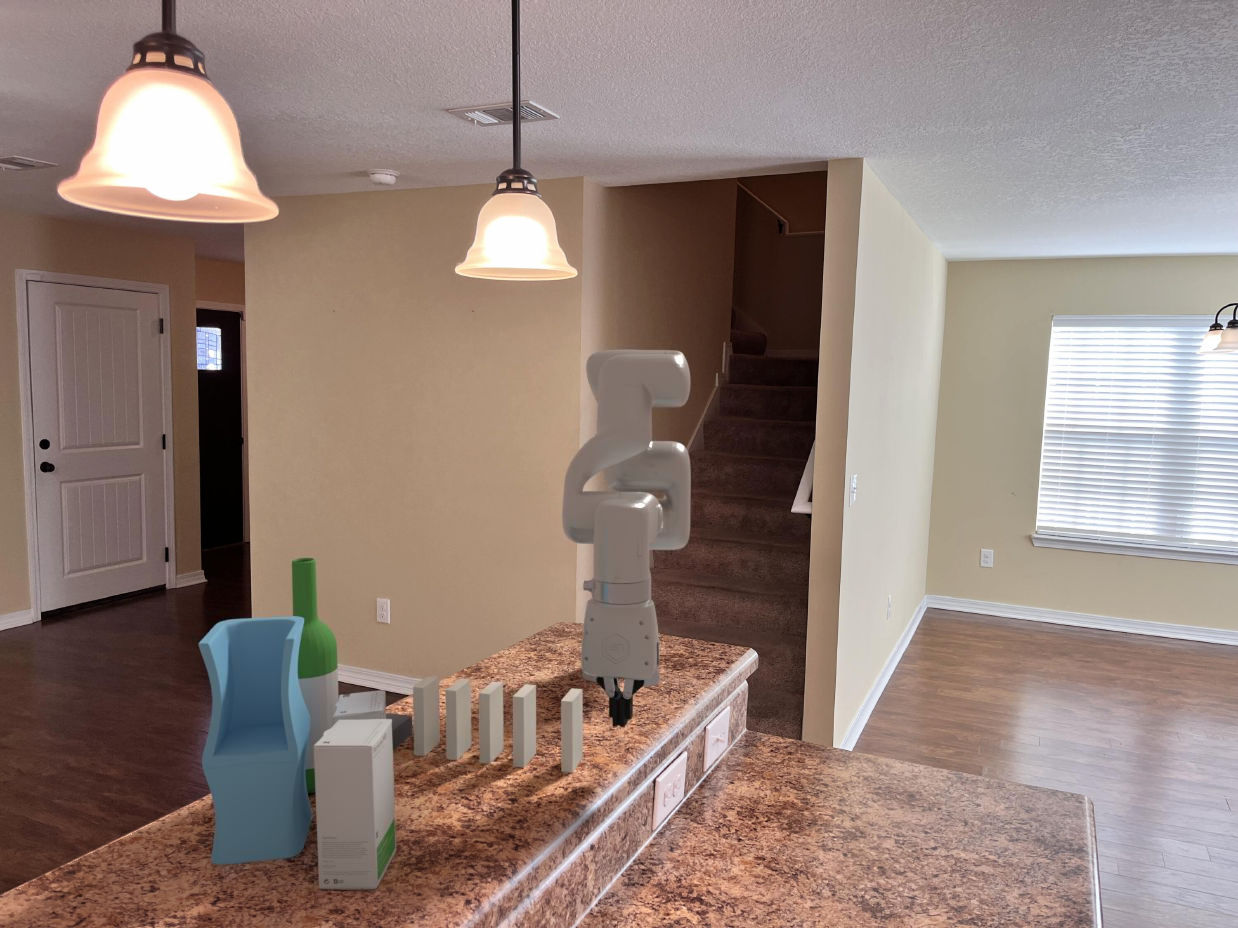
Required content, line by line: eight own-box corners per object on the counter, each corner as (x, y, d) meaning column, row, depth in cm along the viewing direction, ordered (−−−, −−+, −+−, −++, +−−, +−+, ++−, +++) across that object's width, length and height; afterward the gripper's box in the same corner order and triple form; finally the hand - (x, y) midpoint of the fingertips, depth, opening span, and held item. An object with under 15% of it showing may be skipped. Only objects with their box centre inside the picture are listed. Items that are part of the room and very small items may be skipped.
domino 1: (414, 754, 125) (413, 686, 124) (430, 741, 130) (428, 675, 129) (424, 756, 124) (423, 687, 124) (439, 742, 129) (438, 676, 128)
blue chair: (206, 866, 96) (197, 643, 94) (227, 822, 105) (219, 619, 103) (301, 856, 98) (294, 638, 96) (313, 814, 108) (307, 615, 105)
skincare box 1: (388, 834, 103) (386, 711, 102) (334, 839, 102) (331, 715, 100) (390, 801, 111) (388, 687, 110) (340, 806, 110) (337, 690, 108)
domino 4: (513, 766, 121) (512, 696, 120) (525, 751, 126) (525, 684, 125) (524, 767, 121) (523, 697, 120) (536, 752, 126) (535, 685, 125)
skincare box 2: (376, 891, 91) (373, 747, 90) (313, 890, 91) (309, 746, 90) (398, 849, 100) (395, 716, 98) (340, 848, 100) (336, 715, 98)
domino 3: (479, 762, 122) (478, 692, 122) (493, 748, 127) (492, 681, 126) (490, 763, 122) (489, 694, 121) (503, 749, 127) (502, 682, 126)
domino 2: (446, 758, 124) (445, 689, 123) (461, 744, 128) (460, 678, 128) (457, 759, 123) (456, 690, 122) (471, 745, 128) (470, 679, 127)
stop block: (388, 732, 133) (388, 712, 133) (412, 734, 132) (412, 715, 132) (360, 753, 125) (360, 733, 125) (386, 756, 124) (385, 735, 124)
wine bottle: (337, 793, 113) (331, 564, 110) (273, 799, 111) (265, 567, 109) (343, 767, 121) (338, 553, 118) (284, 772, 119) (277, 555, 116)
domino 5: (561, 771, 120) (561, 700, 119) (571, 756, 124) (571, 688, 124) (572, 772, 119) (572, 701, 118) (582, 757, 124) (582, 689, 123)
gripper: (559, 594, 116) (560, 728, 118) (670, 601, 112) (669, 739, 114) (576, 582, 123) (576, 708, 125) (680, 588, 120) (679, 718, 121)
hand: (620, 722), depth 120 cm, fingers closed
